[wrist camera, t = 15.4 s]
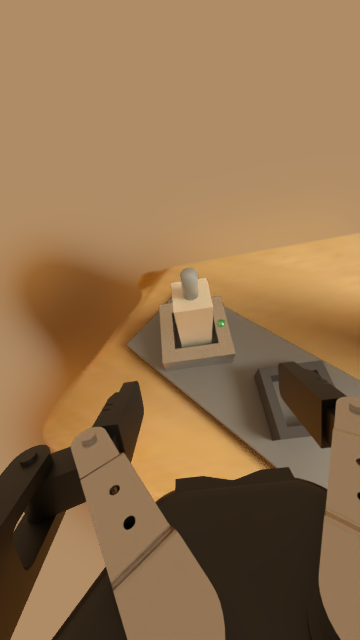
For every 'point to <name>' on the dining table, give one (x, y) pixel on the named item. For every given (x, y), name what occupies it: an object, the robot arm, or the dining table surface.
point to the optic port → (197, 354)
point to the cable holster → (271, 402)
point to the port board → (248, 391)
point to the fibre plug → (192, 309)
